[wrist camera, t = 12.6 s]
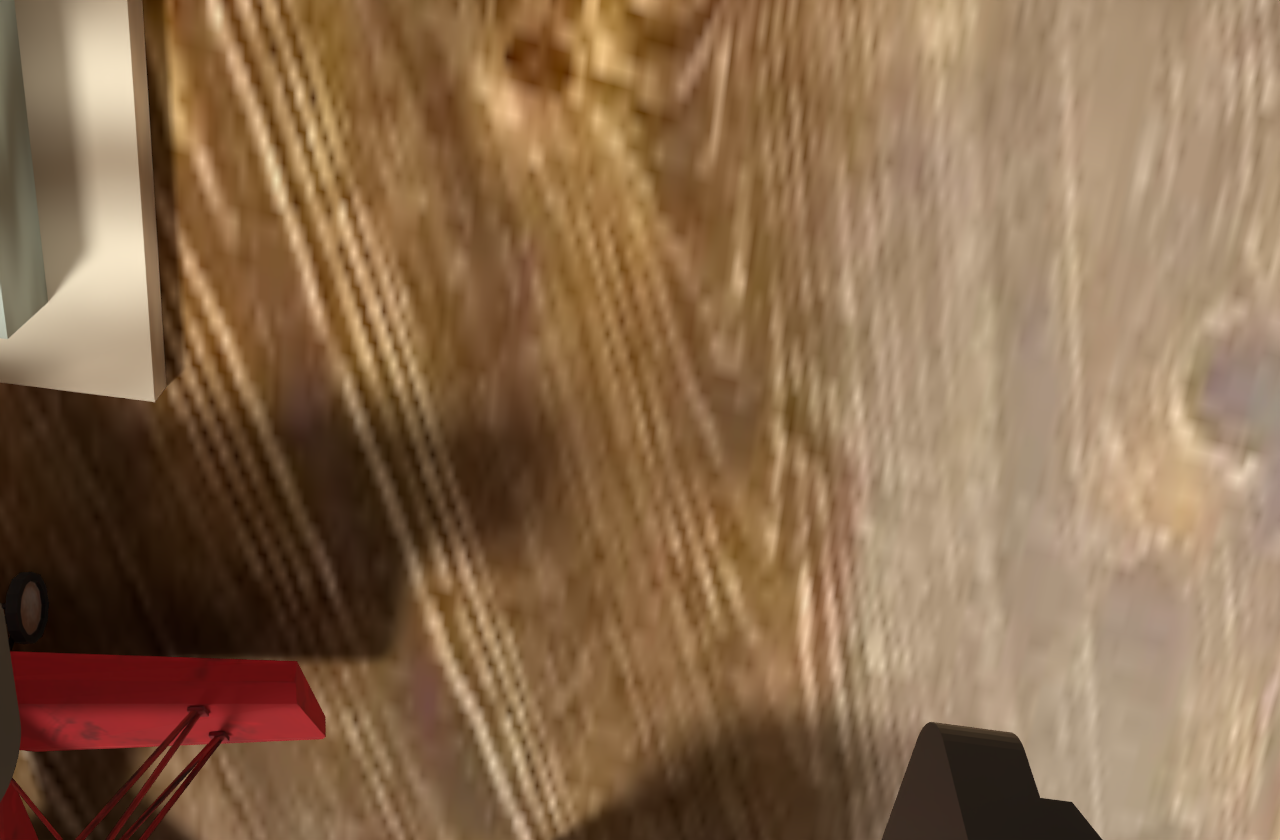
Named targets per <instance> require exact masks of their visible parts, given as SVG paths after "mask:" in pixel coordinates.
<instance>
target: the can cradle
mask: <svg viewBox="0 0 1280 840" xmlns="http://www.w3.org/2000/svg"><path fill="white" fill-rule="evenodd" d="M0 382H1V383H9V384H17V385H25V386H32V387H40V388H48V389H56V390H64V391H72V392H80V393H88V394H96V395H104V396H111V397H119V398H127V399H135V400H143V401H151V402H155V401H156V400H157V398H158V397H159V396H160V394H161V393H162V392H163V391H164V389H165V388H166V371H165V355H164V340H163V324H162V308H161V292H160V276H159V260H158V244H157V228H156V212H155V196H154V180H153V164H152V148H151V132H150V116H149V100H148V84H147V68H146V52H145V36H144V20H143V4H142V0H0Z"/></svg>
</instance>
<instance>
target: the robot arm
mask: <svg viewBox="0 0 1280 840" xmlns="http://www.w3.org/2000/svg"><path fill="white" fill-rule="evenodd" d="M20 741H21V722H20V715H19V708H18V702H17V695H16V688H15V682H14V675H13V668H12V662H11V655H10V648H9V642H8V635H7V628H6V622H5V616H4V611H3V608H2V605H1V603H0V802H1V800H2V799H3V797H4V795H5V793H6V791H7V789H8V787H9V784H10V782H11V779H12V776H13V773H14V770H15V767H16V763H17V759H18V755H19V749H20ZM882 840H1102V839H1101V838H1100V836H1099V835H1098V834H1097V833H1096V831H1095V830H1094V829H1093V828H1092V826H1091V825H1090V824H1089V823H1088V821H1087V820H1086V819H1085V818H1084V816H1083V815H1082V814H1081V813H1080V811H1079V810H1078V809H1077V808H1076V806H1075V805H1074V804H1073V803H1072V802H1067V801H1059V800H1052V799H1044V798H1040V796H1039V793H1038V790H1037V787H1036V784H1035V781H1034V778H1033V775H1032V772H1031V769H1030V766H1029V762H1028V759H1027V756H1026V753H1025V750H1024V748H1023V745H1022V743H1021V741H1020V740H1019V738H1018V737H1017V736H1016V735H1015V734H1013V733H1010V732H1003V731H995V730H987V729H980V728H972V727H965V726H957V725H950V724H942V723H934V722H929V723H927V724H926V725H925V726H924V727H923V729H922V730H921V732H920V734H919V737H918V739H917V742H916V745H915V748H914V750H913V753H912V756H911V759H910V762H909V764H908V767H907V770H906V773H905V776H904V778H903V781H902V784H901V787H900V790H899V792H898V795H897V798H896V801H895V804H894V807H893V809H892V812H891V815H890V818H889V821H888V823H887V826H886V829H885V832H884V835H883V838H882Z"/></svg>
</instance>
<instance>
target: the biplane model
mask: <svg viewBox="0 0 1280 840" xmlns="http://www.w3.org/2000/svg"><path fill="white" fill-rule="evenodd" d="M1 605H2V608H3V609H5V622H6V624H7V630H8V632H9V634H10V637H9V640H8V642H9V648H10V655H11V662H12V668H13V675H14V682H15V688H16V695H17V702H18V708H19V715H20V722H21V741H20V749H19V750H25V751H34V752H40V751H63V750H85V749H108V748H131V747H153V746H159V747H158V748H157V749H156V750H155V751H154V752H153V754H152V755H151V756H150V757H149V758H148V759H147V760H146V761H145V762H144V764H143V765H142V766H141V767H140V768H139V769H138V770H137V771H136V772H135V774H134V775H133V776H132V777H131V778H130V779H129V780H128V781H127V782H126V783H125V785H124V786H123V787H122V788H121V789H120V790H119V791H118V792H117V793H116V795H115V796H114V797H113V798H112V799H111V800H110V801H109V802H108V803H107V805H106V806H105V807H104V808H103V809H102V810H101V811H100V812H99V813H98V815H97V816H96V817H95V818H94V819H93V820H92V821H91V822H90V823H89V825H88V826H87V827H86V828H85V829H84V830H83V831H82V832H81V833H80V835H79V836H78V837H77V838H76V839H75V840H85V839H86V837H87V836H88V835H89V834H90V833H91V832H92V831H93V830H94V828H95V827H96V826H97V825H98V824H99V823H100V822H101V821H102V819H103V818H104V817H105V816H106V815H107V814H108V813H109V812H110V810H111V809H112V808H113V807H114V806H115V805H116V804H117V803H118V801H119V800H120V799H121V798H122V797H123V796H124V795H125V794H126V792H127V791H128V790H129V789H130V788H131V787H132V786H133V785H134V783H135V782H136V781H137V780H138V779H139V778H140V777H141V776H142V775H143V773H144V772H145V771H146V770H147V769H148V768H149V767H150V766H151V764H152V763H153V762H154V761H155V760H156V759H157V758H158V757H159V755H160V754H161V753H162V752H163V751H164V750H165V749H166V748H167V746H171V748H170V749H169V751H168V752H167V754H166V755H165V756H164V758H163V759H162V761H161V762H160V763H159V765H158V766H157V768H156V769H155V770H154V772H153V773H152V775H151V776H150V777H149V779H148V780H147V782H146V783H145V784H144V786H143V787H142V789H141V790H140V792H139V793H138V794H137V796H136V797H135V799H134V800H133V801H132V803H131V804H130V806H129V807H128V808H127V810H126V811H125V813H124V814H123V815H122V817H121V818H120V820H119V821H118V823H117V824H116V825H115V827H114V828H113V830H112V831H111V832H110V834H109V835H108V837H107V838H106V839H105V840H114V838H115V837H116V836H117V834H118V833H119V831H120V830H121V829H122V827H123V826H124V824H125V823H126V821H127V820H128V819H129V817H130V816H131V814H132V813H133V811H134V810H135V809H136V807H137V806H138V804H139V803H140V802H141V800H142V799H143V797H144V796H145V794H146V793H147V792H148V790H149V789H150V787H151V786H152V784H153V783H154V782H155V780H156V779H157V777H158V776H159V774H160V773H161V772H162V770H163V769H164V767H165V766H166V765H167V763H168V762H169V760H170V759H171V757H172V756H173V755H174V753H175V752H176V750H177V749H178V747H179V746H180V745H198V744H207V745H206V746H205V747H204V748H203V749H202V751H201V752H200V753H199V754H198V755H197V756H196V757H195V758H194V759H193V760H192V761H191V762H190V764H189V765H188V766H187V767H186V768H185V769H184V770H183V771H182V772H181V773H180V774H179V775H178V776H177V778H176V779H175V780H174V781H173V782H172V783H171V784H170V785H169V786H168V787H167V788H166V789H165V791H164V792H163V793H162V794H161V795H160V796H159V797H158V798H157V799H156V800H155V801H154V802H153V803H152V805H151V806H150V807H149V808H148V809H147V810H146V811H145V812H144V813H143V814H142V815H141V816H140V818H139V819H138V820H137V821H136V822H135V823H134V824H133V825H132V826H131V827H130V828H129V829H128V830H127V832H126V833H125V834H124V835H123V836H122V837H121V838H120V839H119V840H128V839H129V838H130V837H131V836H132V834H133V833H134V832H135V831H136V830H137V829H138V828H139V827H140V826H141V825H142V824H143V822H144V821H145V820H146V819H147V818H148V817H149V816H150V815H151V814H152V813H153V812H154V810H155V809H156V808H157V807H158V806H159V805H160V804H161V803H162V802H163V801H164V800H165V798H166V797H167V796H168V795H169V794H170V793H171V792H172V791H173V790H174V789H175V788H176V786H177V785H178V784H179V783H180V782H181V781H182V780H183V779H184V778H185V777H186V775H187V774H188V773H189V772H190V771H191V770H192V769H193V768H194V767H195V768H194V769H193V770H192V772H191V773H190V774H189V775H188V777H187V778H186V779H185V781H184V782H183V783H182V784H181V786H180V787H179V788H178V790H177V791H176V792H175V793H174V795H173V796H172V797H171V799H170V800H169V801H168V803H167V804H166V805H165V806H164V808H163V809H162V810H161V812H160V813H159V814H158V815H157V817H156V818H155V819H154V821H153V822H152V823H151V825H150V826H149V827H148V828H147V830H146V831H145V832H144V834H143V835H142V836H141V837H140V839H139V840H147V839H148V837H149V836H150V835H151V833H152V832H153V831H154V829H155V828H156V827H157V826H158V824H159V823H160V822H161V820H162V819H163V818H164V816H165V815H166V814H167V812H168V811H169V810H170V809H171V807H172V806H173V805H174V803H175V802H176V801H177V799H178V798H179V797H180V795H181V794H182V793H183V792H184V790H185V789H186V788H187V786H188V785H189V784H190V782H191V781H192V780H193V778H194V777H195V776H196V775H197V773H198V772H199V771H200V769H201V768H202V767H203V765H204V764H205V763H206V761H207V760H208V759H209V758H210V756H211V755H212V754H213V752H214V751H215V750H216V748H217V747H218V746H219V745H220V744H221V743H244V742H266V741H289V740H311V739H323V738H325V737H326V735H325V715H324V713H323V711H322V709H321V707H320V706H319V704H318V702H317V700H316V698H315V696H314V694H313V692H312V690H311V688H310V686H309V684H308V682H307V680H306V678H305V676H304V674H303V672H302V670H301V668H300V666H299V664H298V662H297V661H275V660H247V659H218V658H189V657H160V656H131V655H102V654H73V653H45V652H16V651H12V648H13V645H14V642H15V643H20V644H35V643H36V642H37V641H38V640H39V639H40V638H41V637H42V635H43V633H44V630H45V627H46V624H47V621H48V608H49V601H48V594H47V588H46V585H45V583H44V581H43V579H42V577H41V576H40V575H39V574H36V573H34V572H21V573H19V574H18V575H17V576H16V577H14V578H13V579H12V581H11V584H10V586H9V589H8V592H7V594H6V604H1ZM197 763H198V764H197ZM19 794H20V795H19ZM20 796H21V797H22V798H23V799H24V800H25V802H26V803H27V804H28V805H29V807H30V808H31V809H32V810H33V811H34V813H35V814H36V815H37V816H38V818H39V819H40V820H41V821H42V822H43V824H44V825H45V826H46V827H47V829H48V830H49V831H50V832H51V834H52V835H53V836H54V837H55V838H56V840H63V839H62V837H61V836H60V835H59V834H58V833H57V831H56V830H55V829H54V828H53V826H52V825H51V824H50V823H49V822H48V820H47V819H46V818H45V817H44V816H43V814H42V813H41V812H40V811H39V809H38V808H37V807H36V806H35V805H34V803H33V802H32V801H31V800H30V798H29V797H28V796H27V795H26V794H25V792H24V791H23V790H22V789H21V787H20V786H19V785H18V784H17V783H16V781H15V780H14V779H13V778H12V779H11V782H10V784H9V787H8V789H7V791H6V793H5V795H4V797H3V799H2V800H1V802H0V840H39V839H38V837H37V835H36V832H35V830H34V828H33V825H32V823H31V821H30V818H29V816H28V814H27V812H26V809H25V807H24V805H23V802H22V800H21V798H20Z"/></svg>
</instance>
